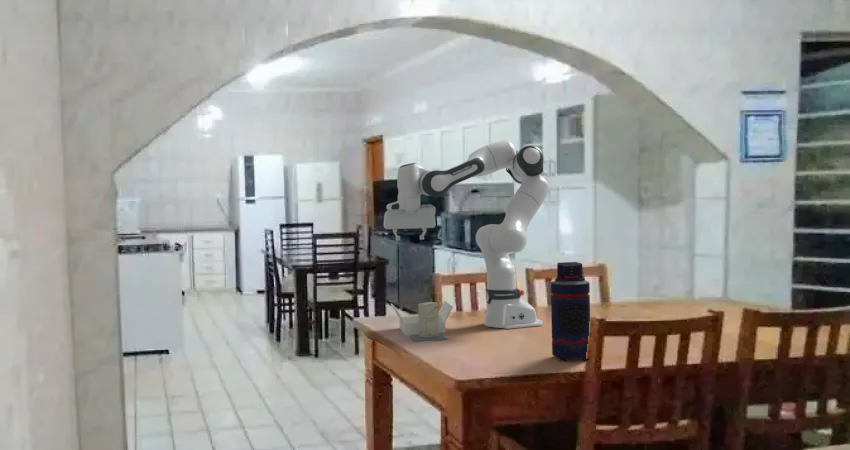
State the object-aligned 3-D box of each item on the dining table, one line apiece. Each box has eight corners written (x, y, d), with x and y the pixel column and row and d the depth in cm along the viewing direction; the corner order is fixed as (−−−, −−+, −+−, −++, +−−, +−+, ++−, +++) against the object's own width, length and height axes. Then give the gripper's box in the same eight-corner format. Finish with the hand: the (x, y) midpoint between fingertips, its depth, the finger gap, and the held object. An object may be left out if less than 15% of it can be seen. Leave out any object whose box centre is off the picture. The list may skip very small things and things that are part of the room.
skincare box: (426, 338, 286) (425, 304, 285) (418, 336, 289) (417, 303, 289) (439, 335, 290) (438, 302, 289) (431, 334, 293) (430, 301, 293)
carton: (446, 325, 314) (445, 300, 313) (453, 332, 299) (453, 306, 298) (391, 328, 310) (390, 303, 310) (396, 335, 295) (395, 309, 295)
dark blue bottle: (595, 361, 246) (593, 264, 244) (557, 363, 245) (555, 265, 243) (583, 351, 260) (581, 259, 258) (546, 353, 259) (545, 261, 257)
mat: (442, 334, 296) (442, 332, 296) (447, 339, 286) (447, 338, 286) (410, 336, 294) (410, 334, 294) (414, 341, 284) (414, 340, 284)
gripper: (433, 203, 318) (434, 238, 318) (382, 205, 314) (383, 240, 315) (436, 204, 311) (437, 239, 312) (384, 205, 308) (385, 241, 309)
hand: (410, 240), depth 313 cm, fingers open, 8 cm apart
